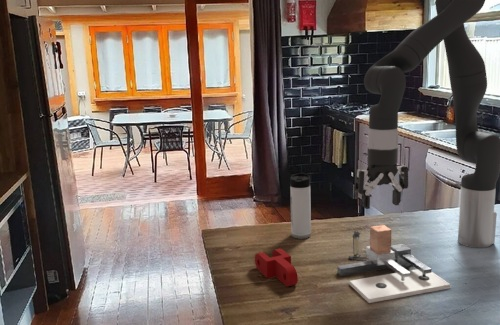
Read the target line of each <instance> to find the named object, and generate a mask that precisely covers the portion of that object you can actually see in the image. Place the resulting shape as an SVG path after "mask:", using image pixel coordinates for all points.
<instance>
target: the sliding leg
mask: <svg viewBox="0 0 500 325" xmlns="http://www.w3.org/2000/svg"><path fill="white" fill-rule="evenodd" d="M392 230H393V229H391V228H389V227H387V226H386V225H385V224H378V225H373V226H370V227H369V246H366V247H365V249H366V252H365V256H366V257H365V258H366V259H368V260H369V261H372V262H373V263H375V264H376V265H377V266H379V265H387V266H388V267H389V268H388V269H391V270H392V271H393V272H394V273H397V274H399V275H400V276H401V280H402V281H404V280H405V277H409V276H410V272H409V271H410V270H408V269H406V267H404V268H403V267H402V266H400V265H399V264H398V263H396V262H395V261H394V260H395V252H394V251H392V250H391V245H392Z"/></svg>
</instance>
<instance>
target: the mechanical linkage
mask: <svg viewBox="0 0 500 325" xmlns="http://www.w3.org/2000/svg"><path fill="white" fill-rule="evenodd" d="M271 255H272V256H271V257H270V256H268V254H266V253H265V252H264V251H262V252H258V253H255V255H254V263H255V266H256V267H255V268H256V270H258V271H259V272H260V273H261V274H262V275H263V276H264V277H265V278H266V279H270V278H277V280H279V282H281V283H282V284H283V285H285V287H290V286H292V287H293V286H295V285H297V284H298V281H299V277H298V272H297V269H296V268H295V265H292V256H291V255H290V254H289V253H288V252H286V251H285V250H284V249H282V248H276V249H273V250H272V254H271Z"/></svg>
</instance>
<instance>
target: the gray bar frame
mask: <svg viewBox="0 0 500 325" xmlns="http://www.w3.org/2000/svg"><path fill="white" fill-rule="evenodd" d="M391 250H392V251H394V252H395V260H394V261H395V262H396V263H398V264H399V265H400V266H402V267H403V268H409V267H411V266H412V267H414V268H415V269H418V270H419V271H421V272H422V276H423V277H426V274H427V273H431V272H432V270H433V269H432V268H431V267H429V266H428V265H426V264H425V263H423V262H422V261H420V260H419V259H417V258H416V257H415V256H414V255H413V254H412V253H411V252H412V248H410V247H409V246H407V245H406V244H403V243H399V244H391ZM385 269H390V268H389V267H388V266H387V265H379V266H377V265H376V264H375V263H373V262H372V261H371V260H368V261H367V260H366V261H359V262H354V263H348V264H341V265H337V269H336V270H337V274H338V275H339V276H340V277H342V276H343V277H344V276H350V275H355V274H362V273H369V272H373V271H380V270H385Z"/></svg>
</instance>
